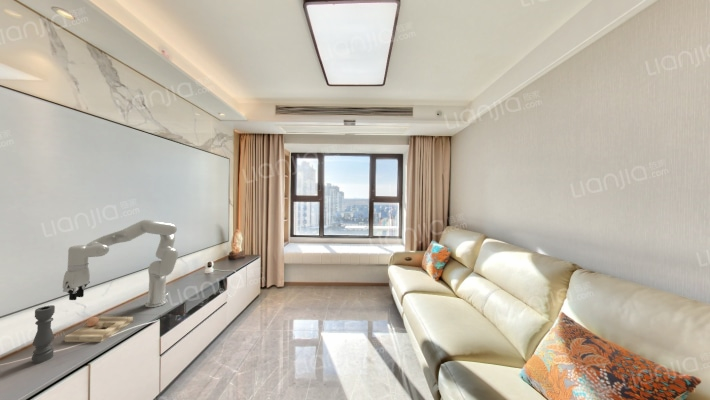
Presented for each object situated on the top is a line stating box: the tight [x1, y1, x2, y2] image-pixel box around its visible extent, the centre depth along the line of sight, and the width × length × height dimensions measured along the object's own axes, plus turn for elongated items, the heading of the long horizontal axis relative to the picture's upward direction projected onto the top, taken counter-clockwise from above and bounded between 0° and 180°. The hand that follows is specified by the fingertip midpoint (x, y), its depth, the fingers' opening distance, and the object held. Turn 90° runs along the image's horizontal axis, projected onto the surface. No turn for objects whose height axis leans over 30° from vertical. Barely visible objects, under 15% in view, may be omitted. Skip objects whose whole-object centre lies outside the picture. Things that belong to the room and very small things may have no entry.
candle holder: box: [31, 305, 56, 365], centre depth 110 cm, size 6×6×25 cm
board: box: [64, 316, 134, 343], centre depth 134 cm, size 20×18×3 cm
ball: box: [85, 316, 100, 326], centre depth 133 cm, size 5×5×5 cm
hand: (76, 298), depth 132 cm, fingers open, 3 cm apart
